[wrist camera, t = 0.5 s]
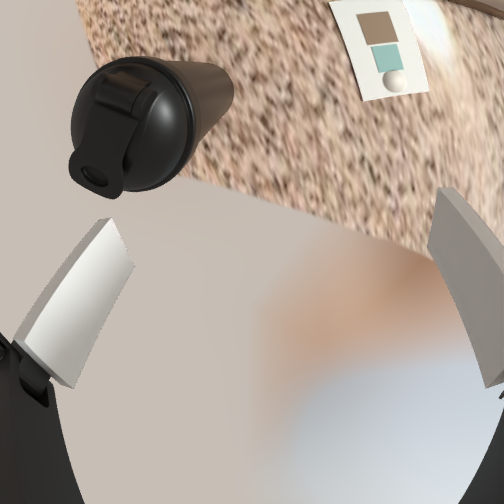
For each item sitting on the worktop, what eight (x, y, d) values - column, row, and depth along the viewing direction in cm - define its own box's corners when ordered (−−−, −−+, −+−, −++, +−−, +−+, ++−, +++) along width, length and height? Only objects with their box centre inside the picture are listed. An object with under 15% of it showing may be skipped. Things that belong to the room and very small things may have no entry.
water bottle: (154, 111, 34) (38, 180, 16) (184, 45, 28) (63, 44, 10) (219, 141, 37) (148, 238, 18) (255, 76, 31) (208, 94, 12)
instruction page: (328, 2, 23) (328, 2, 23) (400, -5, 20) (400, -5, 20) (362, 101, 31) (363, 101, 30) (428, 91, 28) (429, 91, 28)
